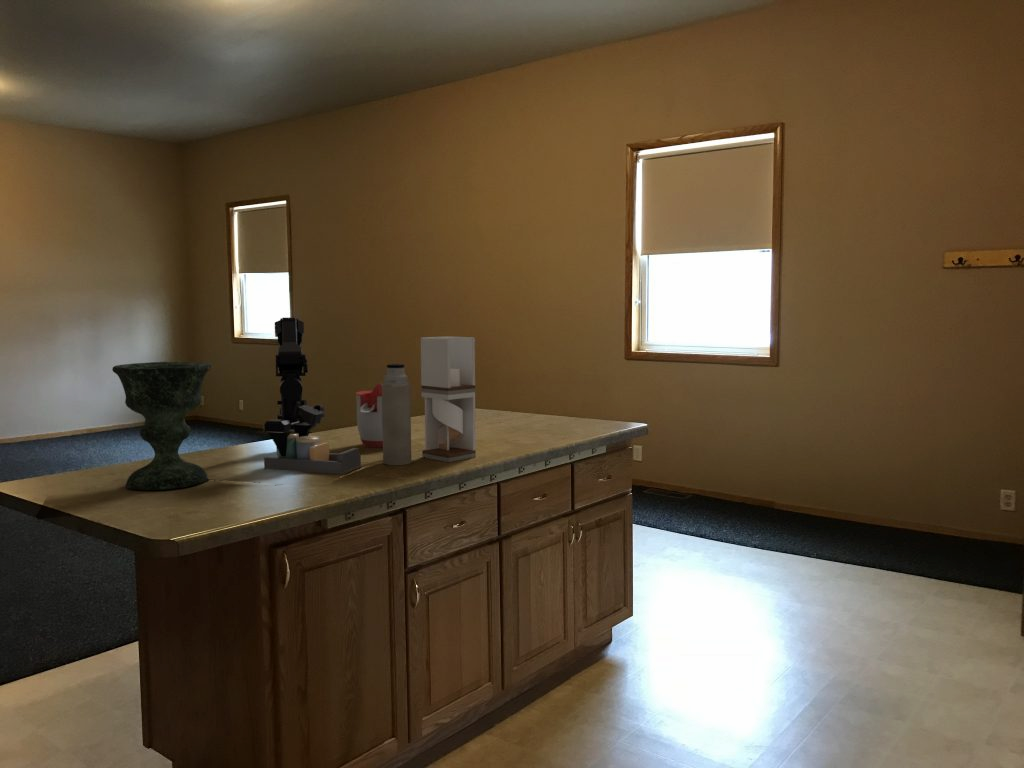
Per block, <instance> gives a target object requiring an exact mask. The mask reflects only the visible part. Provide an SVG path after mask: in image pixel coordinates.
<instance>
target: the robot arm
mask: <svg viewBox="0 0 1024 768" xmlns="http://www.w3.org/2000/svg"><path fill="white" fill-rule="evenodd" d="M274 336H275V337H274V338H277V344H278V345H279V346H278V349H277V351H278V352H277V354H275V377H276V378H277V377H278V378H279V377H280V379H279V393H280V395H279V396H280V399H279V400H277V402H276V403H277V405H280V408H279V414H277V418H273V419H269V420H268V419H267V420H266V421H265V422H264V423H263V432H266V434H267V435H269V437H270V439H272V441H273V442H274V445H275V447H277V449H278V450H279V452H280V454H281V456H284V457H285V456H286V450H287V437H288V436H289V435H290V433H291V432H295V433H299V437H301V436H310V431H311V430H313V428H315V427H316V426H317V424H318V425H320V423H321V421H322V418H325V417H326V416H325V409H324V406H323V405H322V404H316V405H315V406H309V405H308V404H307V400H306V399H305V398H304V399H303V390H304V389H303V379H302V377H306V374H307V373H309V372H308V358H307V357H306V354H305V353H303V350H302V349H303V347H302V346H301V344H302V342H303V337H305V322H304V321H302V320H299V318H298V317H281V318H280V320H277V321H275V322H274ZM277 449H276V450H277Z"/></svg>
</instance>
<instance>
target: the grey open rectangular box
mask: <svg viewBox="0 0 1024 768" xmlns="http://www.w3.org/2000/svg"><path fill="white" fill-rule="evenodd" d="M361 456H362V455H361V454H360V449H359V447H353V448H350V449H347V450H343V451H341V452H339V453H335V452H334V453H333V452H329V461H324V460H307V459H290V458H277V457H270V456H265V457H263V466H264V467H263V468H264V470H275V471H277V470H278V471H290V472H293V471H294V472H307V473H322V474H323V473H324V474H339V475H340V476H342V475H344V476H346V475H345V474H347V473H349V474H351V473H353V472H352V471H354V472H356V471H358V470H357V469H359V470H360V468H361V466H362V462H361V461H362V459H361V458H362V457H361ZM355 470H356V471H355ZM350 472H351V473H350ZM347 475H348V474H347ZM342 477H343V476H342Z"/></svg>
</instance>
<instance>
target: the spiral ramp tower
mask: <svg viewBox="0 0 1024 768" xmlns="http://www.w3.org/2000/svg"><path fill="white" fill-rule="evenodd" d="M475 340H476V339H475V337H472V336H471V337H468V336H467V337H466V336H433V337H431V336H430V337H429V336H428V337H420V369H421V372H420V373H421V374H420V375H421V377H420V378H421V383H420V384H421V387H420V388H421V398H424V434H425V435H424V436H425V437H424V443H425V444H424V446H425V447H424V448H425V449H423V450H422V451H421V452H422V453H421V454H422V455H421V456H422V458H424V457H425V459H429V460H430V459H431V460H436V461H441V462H446V463H451V462H458V461H462V460H467V459H472V458H476V456H477V453H476V452H477V451H476V445H477V443H476V442H477V441H476V341H475Z"/></svg>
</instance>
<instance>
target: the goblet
mask: <svg viewBox="0 0 1024 768" xmlns="http://www.w3.org/2000/svg"><path fill="white" fill-rule="evenodd" d="M210 370H212V365H211V364H210V363H208V362H205V361H160V362H159V361H155V362H154V361H153V362H138V363H137V362H136V363H126V364H119V365H118V364H117V365H114V366H113V367H112V372H113V373H114V374H116V375H117V377H118V379H119V381H120V383H121V385H122V387H123V391H124V396H125V401H124V403H125V405H126V407H127V408H128V409H130V410H131V411H132V412H135V413H137V414H139V415H141V416H142V417H143V418H144V424H143V426H142V428H140V429H139V436H140V438H141V440H143V441H145V442H147V443H148V444H149V445H150V446H151V448H152V449H153V452H154V457H153V458H152V460H151V461H150V462H149V463H147V464H146V465H144V466H143V467H142V466H141V467H140V468H137V469H136V470H134V471H133V472H132V473H131V474H130V475H129V476H128V478H127V480H126V483H125V488H127V489H129V490H135V491H164V490H173V489H182V488H187V487H192V486H193V487H194V486H196V485H200V484H202V483H204V482H206V481H208V480H209V476H208V474H207V472H206V471H205V469H204V468H203V467H202V466H200V465H198V464H195V463H193V462H192V463H191V462H189V461H185V460H184V459H182V458H181V457H180V455H179V454H180V453H179V450H180V447H181V445H182V443H183V441H184V440H186V439H187V438H189V437H190V434H191V432H192V429H191V426H190V425H188V424H187V423H186V420H185V419H186V415H187V414H188V413H190V412H191V411H192V410H195V409H196V408H197V407H198V406H199V405H200V404H201V403H202V400H203V398H202V395H201V394H202V388H203V383H204V380H205V377H206V375H207V373H208V372H209V371H210Z"/></svg>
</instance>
